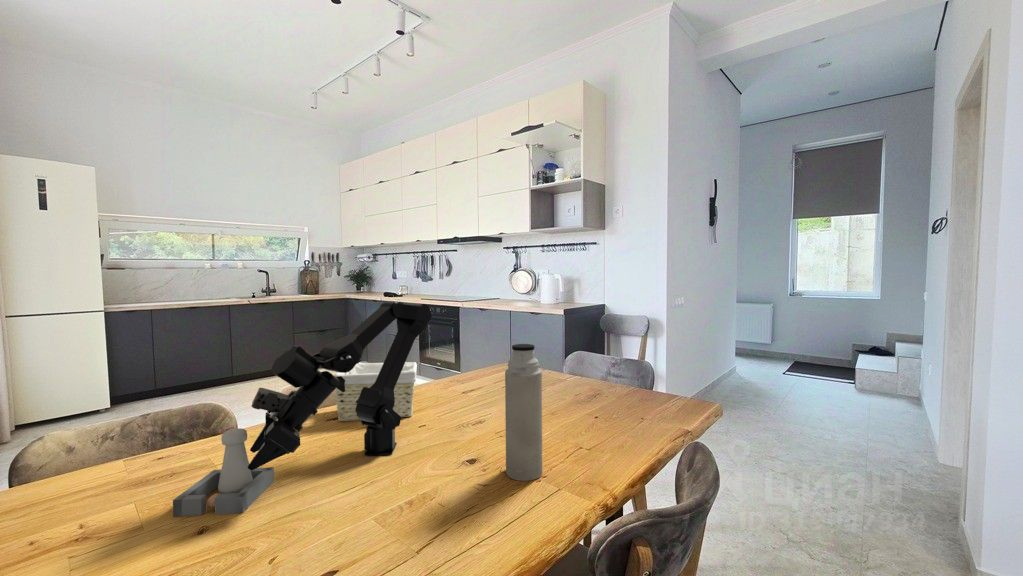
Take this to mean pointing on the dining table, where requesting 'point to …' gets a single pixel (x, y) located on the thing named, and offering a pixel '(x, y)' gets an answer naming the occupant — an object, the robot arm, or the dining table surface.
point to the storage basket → (366, 377)
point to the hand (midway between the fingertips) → (250, 459)
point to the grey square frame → (224, 503)
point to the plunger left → (212, 500)
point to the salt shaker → (234, 462)
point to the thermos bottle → (523, 414)
